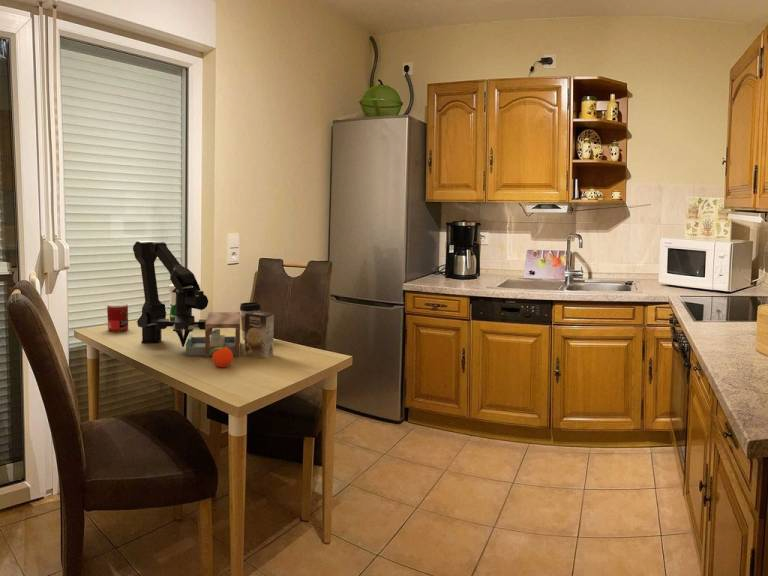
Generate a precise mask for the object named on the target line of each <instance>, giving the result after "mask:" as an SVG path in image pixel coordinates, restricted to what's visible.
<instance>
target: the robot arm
mask: <svg viewBox="0 0 768 576" xmlns="http://www.w3.org/2000/svg"><path fill="white" fill-rule="evenodd" d="M167 245H168V244H167V243H166V242H165V241H153V240H138V241H136V242H135V243H134V244H133V246H132V251H133V254H134V258H135V260H136V261H137V262H138V263H139V264H140V271H141V279H142V287H143V294H144V303H143V305H142V308H141V315H140V317H139V318H138V319H137V321H136V323H137V327H139V328H141V337H142V338H141V344H147V343H148V344H151V343H152V344H155V343H156V344H158V343H160V341H162V339H163V333H162V332H163V331H162V330H165V329H167V328H168V327H172V331H173V332H174V333H176V334H177V336H178V338H179V341H180V344H181V346H182V347H183V348H185V346H186V343H187V340H188V337H189V335H190V332H194V329H195V327H196V328H198V329H199V330H201V331H202V330H204V331H205V323H206V320H207V318H205V319H203V318H201V319H199V320H198V321H195V318H196V317H195V315H193V309H195V310H199V311H203V310H205V309H207V307H208V304H209V299H208V297H207V295H205V294H204V290H201V288H200V284H199V283H198V281H197V279H196V276H195V274H194V272H192V271H191V270H190V269H189V268H187V267H185V266H183V265H182V264H181V263H180V261H178V259H177V258H176V257H175V255H174V254H173V252H171V250H170V249H169V248H168V246H167ZM157 258H158V259H159V261H160V262H161V263H162V265H163V266H164V267H165V269H166V270H167V271H168V273H169V280H170V281H171V284H173V285H174V287H175V289H174V290H173V291H172V292H173V293H176V315H175V317H174V321H170V318H166V317H167V310H166V304H165V303H163V302H161V300H160V297H159V291H158V282H157V276H156V268H155V267H156V266H155V263H156V260H157ZM187 287H189V288H187Z"/></svg>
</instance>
